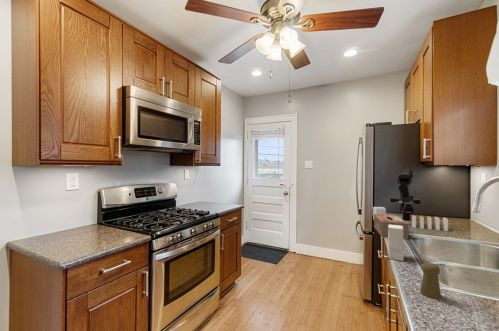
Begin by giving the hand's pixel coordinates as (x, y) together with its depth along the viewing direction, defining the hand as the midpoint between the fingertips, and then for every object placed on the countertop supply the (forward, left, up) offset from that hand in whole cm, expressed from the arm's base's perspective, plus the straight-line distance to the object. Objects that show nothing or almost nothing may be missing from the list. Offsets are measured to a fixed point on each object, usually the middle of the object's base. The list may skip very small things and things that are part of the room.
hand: (404, 212), depth 174 cm
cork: (+101, -6, -11) cm, 102 cm away
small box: (-16, -15, -11) cm, 25 cm away
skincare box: (+68, -13, -11) cm, 70 cm away
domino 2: (0, +15, -10) cm, 18 cm away
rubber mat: (0, +13, -11) cm, 17 cm away
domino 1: (0, +10, -10) cm, 15 cm away
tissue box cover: (+20, -11, -11) cm, 26 cm away
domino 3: (0, +19, -10) cm, 22 cm away
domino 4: (0, +24, -10) cm, 26 cm away
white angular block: (0, +6, -10) cm, 12 cm away
